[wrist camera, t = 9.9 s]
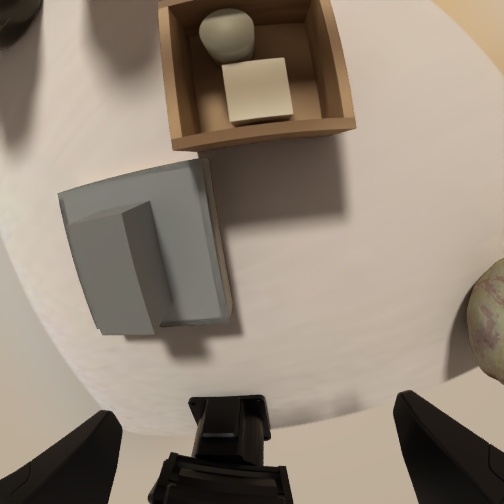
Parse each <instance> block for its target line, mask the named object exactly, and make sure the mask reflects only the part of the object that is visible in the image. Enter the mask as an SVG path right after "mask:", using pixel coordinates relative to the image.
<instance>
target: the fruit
mask: <svg viewBox="0 0 504 504" xmlns="http://www.w3.org/2000/svg"><path fill="white" fill-rule="evenodd" d="M467 323H468V331H469V342H470V345H471V348H472V351H473V354H474V356H475V359H476V361H477V363H478V365H479V366H480V368H481V369H482V371H483V372H484V373H485V374H487V375H488V376H490V377H492V378H494V379H496V380H498V381H499V382H501V383H502V384H503V385H504V258H502V259H500V260H499V261H497V262H496V263H495V264H494V265H493V266H492V267H490V268H489V269H488V270H487V271H486V272H485V274H484V275H483V276H482V277H481V278H480V279H479V281H478V282H477V283H476V285H475V286H474V288H473V291H472V294H471V296H470V299H469V303H468V306H467Z"/></svg>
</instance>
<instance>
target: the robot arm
mask: <svg viewBox="0 0 504 504" xmlns="http://www.w3.org/2000/svg"><path fill="white" fill-rule="evenodd" d="M257 400H260V401H257ZM194 402H195V403H194ZM188 404H189V407H190V409H191V412H192V414H193V416H194V419H195V421H196V423H197V426H198V428H197V432H196V437H195V442H194V447H193V452H192V456H191V457H188V456H183V455H178V453H173V452H171V453H170V456H169V458H168V459H166V461H164V462H163V467H162V469H161V473H160V476H159V478H158V480H157V482H156V483H155V485H154V486H153V488H152V490H151V491H150V493H149V495H148V501H149V503H150V504H293V498H292V494H291V489H290V484H289V479H288V474H287V470H286V466H278V467H270V466H263V445H264V441H268V440H270V439H271V433H270V427H269V421H268V415H267V409H266V404H265V398H264V396H262V395H247V396H228V397H191V398H190V399H189V402H188ZM393 416H394V420H395V424H396V428H397V433H398V437H399V442H400V446H401V450H402V455H403V458H404V461H405V464H406V467H407V469H408V472H409V475H410V478H411V481H412V484H413V487H414V490H415V493H416V496H417V499H418V502H419V504H504V452H502V451H501V450H499V449H497V448H496V447H494V446H493V445H491V444H489V443H488V442H487V441H485V440H484V439H482V438H480V437H479V436H477V435H476V434H474V433H473V432H472V431H470V430H469V429H467V428H466V427H464V426H463V425H461V424H460V423H458V422H457V421H455V420H454V419H453V418H451V417H449V416H448V415H447V414H445V413H444V412H442V411H441V410H439V409H438V408H436V407H435V406H434V405H432V404H431V403H429V402H428V401H426V400H425V399H423V398H422V397H420V396H419V395H418V394H416V393H415V392H413V391H412V390H407V391H403V392H400V393H398V395H397V398H396V401H395V405H394V409H393ZM122 431H123V430H122V426H121V424H120V423H119V421H118V419H117V418H116V416H115V415H114V413H113V412H112V411H107V410H100V411H99V412H97V413H96V414H95V415H94V416H92V417H91V418H89V419H88V420H87V421H85V422H84V423H83V424H81V425H80V426H79V427H77V428H76V429H75V430H73V431H72V432H71V433H69V434H68V435H66V436H65V437H64V438H62V439H61V440H59V441H58V442H57V443H55V444H54V445H53V446H51V447H50V448H48V449H47V450H46V451H45V452H43V453H41V454H40V455H39V456H37V457H36V458H34V459H33V460H32V461H30V462H28V463H27V464H26V465H24V466H23V467H21V468H20V469H18V470H17V471H15V472H13V473H12V474H10V475H8V476H6V477H4V478H3V479H1V480H0V504H108V501H109V497H110V492H111V488H112V485H113V481H114V477H115V473H116V469H117V464H118V457H119V451H120V445H121V439H122Z"/></svg>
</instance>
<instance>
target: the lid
mask: <svg viewBox="0 0 504 504" xmlns="http://www.w3.org/2000/svg"><path fill="white" fill-rule="evenodd" d="M58 199H59V204H60V208H61V213H62V218H63V222H64V226H65V231H66V235H67V239H68V242H69V246H70V250H71V254H72V257H73V261H74V264H75V267H76V271H77V274H78V277H79V280H80V283H81V286H82V289H83V292H84V295H85V298H86V301H87V304H88V306H89V309H90V312H91V315H92V317H93V320H94V322H95V325H96V327H97V329H100V331H101V333H102V335H151V334H155V333H156V331H157V330H158V328H159V327H173V326H190V325H205V324H218V323H229V322H230V317H231V312H232V306H233V302H232V297H231V292H230V286H229V281H228V275H227V270H226V264H225V258H224V252H223V247H222V241H221V235H220V229H219V223H218V217H217V211H216V205H215V199H214V192H213V186H212V180H211V173H210V167H209V160H208V158H198V159H193V160H187V161H182V162H177V163H172V164H167V165H163V166H158V167H153V168H149V169H145V170H140V171H136V172H132V173H128V174H124V175H120V176H116V177H112V178H108V179H105V180H101V181H97V182H94V183H90V184H87V185H83V186H80V187H76V188H73V189H70V190H67V191H63V192H60V193H58Z"/></svg>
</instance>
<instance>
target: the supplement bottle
mask: <svg viewBox="0 0 504 504" xmlns="http://www.w3.org/2000/svg"><path fill="white" fill-rule="evenodd" d="M40 4H41V0H0V49H3V48H6V47H8V46H10V45H11V44H13V43H14V42H15V41H16V40H18V39H19V38H20V37H21V36H22V34H23V33H24V32H25V31H26V30H27V28H28V27H29V26H30V24H31V23H32V21H33V20H34V18H35V16H36V14H37V12H38V10H39V7H40Z"/></svg>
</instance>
